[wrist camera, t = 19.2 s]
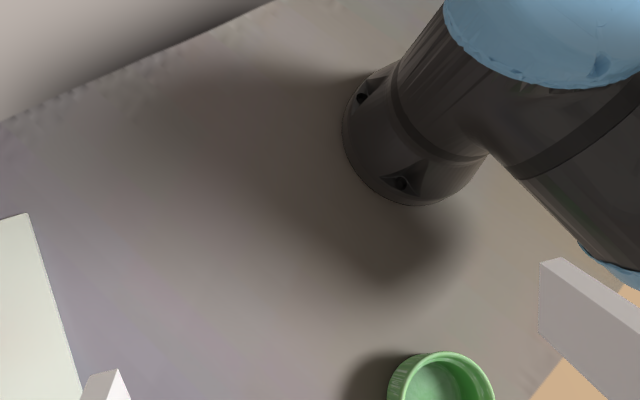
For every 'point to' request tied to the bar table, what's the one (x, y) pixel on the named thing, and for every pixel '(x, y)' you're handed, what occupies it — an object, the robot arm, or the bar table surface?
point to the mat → (30, 323)
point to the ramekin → (439, 379)
